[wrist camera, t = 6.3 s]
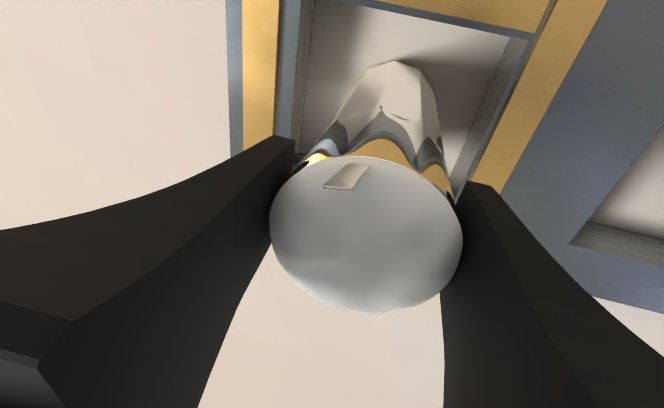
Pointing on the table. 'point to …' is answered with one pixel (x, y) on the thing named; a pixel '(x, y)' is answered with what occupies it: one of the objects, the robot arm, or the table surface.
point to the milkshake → (372, 201)
